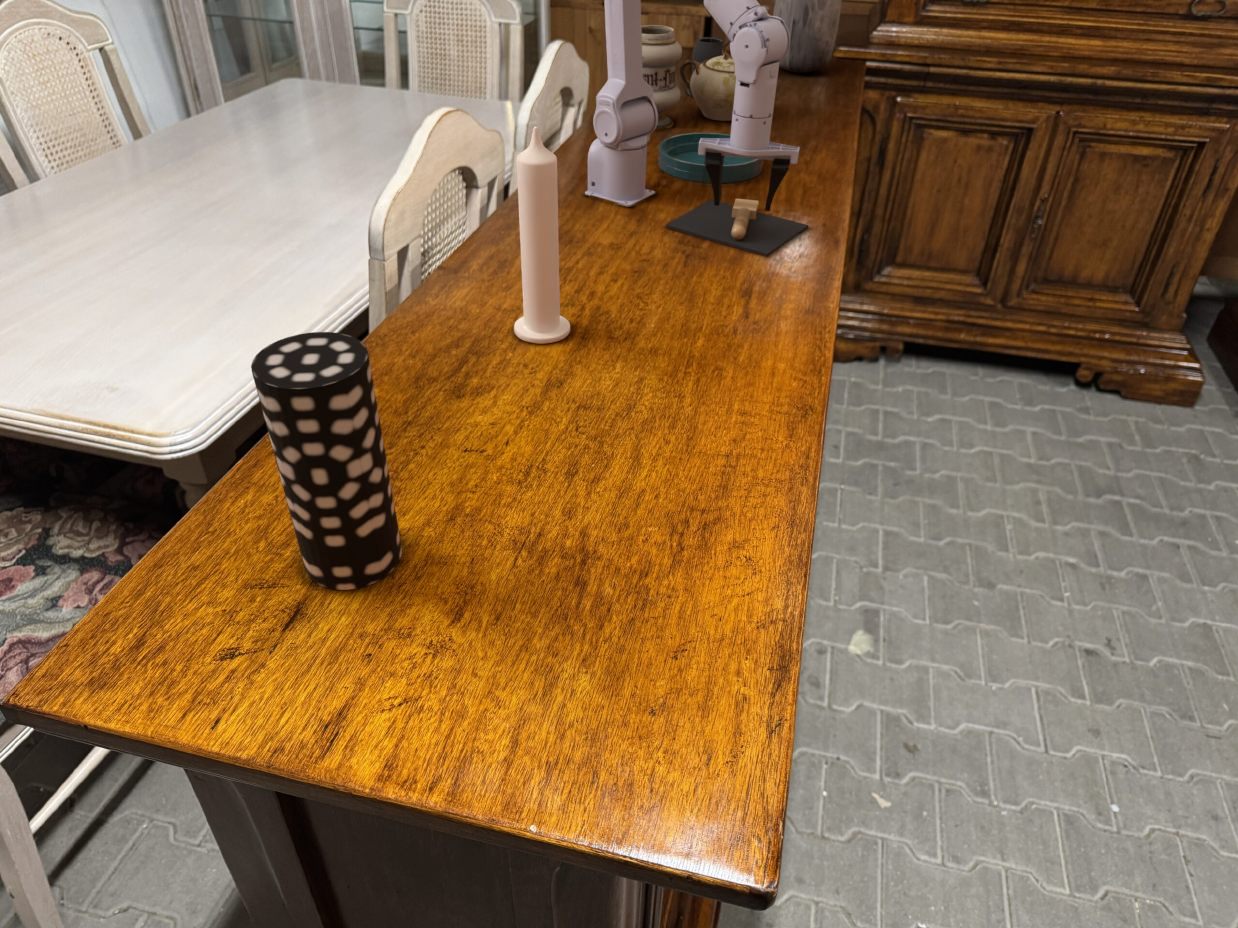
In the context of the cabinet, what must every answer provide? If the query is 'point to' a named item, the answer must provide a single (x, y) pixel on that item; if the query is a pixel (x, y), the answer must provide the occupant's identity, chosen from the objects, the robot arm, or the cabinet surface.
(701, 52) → the mug
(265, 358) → the white-spotted black cylinder
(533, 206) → the candle
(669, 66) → the apothecary jar
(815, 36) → the vase
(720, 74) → the sugar bowl
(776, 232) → the mat
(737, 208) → the wooden handle
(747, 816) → the cabinet surface
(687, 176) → the bowl
